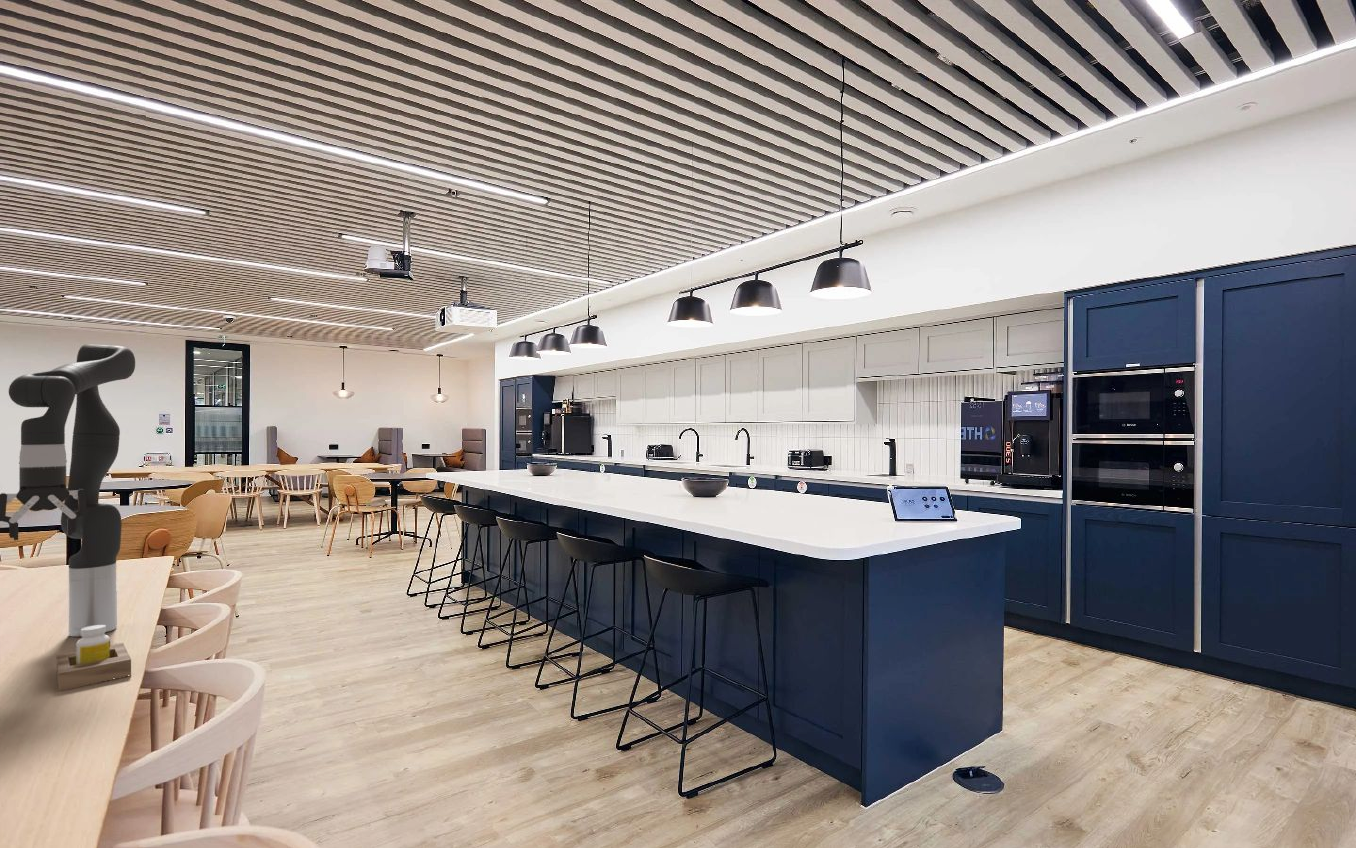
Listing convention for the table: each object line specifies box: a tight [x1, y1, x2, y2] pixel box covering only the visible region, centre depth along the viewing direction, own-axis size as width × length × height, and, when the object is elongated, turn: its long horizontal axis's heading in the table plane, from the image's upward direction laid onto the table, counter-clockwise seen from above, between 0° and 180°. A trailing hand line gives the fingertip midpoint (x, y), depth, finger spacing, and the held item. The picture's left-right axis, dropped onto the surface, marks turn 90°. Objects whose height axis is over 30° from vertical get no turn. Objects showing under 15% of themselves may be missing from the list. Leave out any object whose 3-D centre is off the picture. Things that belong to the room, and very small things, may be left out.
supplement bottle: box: [75, 625, 111, 665], centre depth 138 cm, size 5×5×10 cm
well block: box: [55, 642, 132, 692], centre depth 138 cm, size 16×11×4 cm
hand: (43, 537), depth 145 cm, fingers open, 8 cm apart
